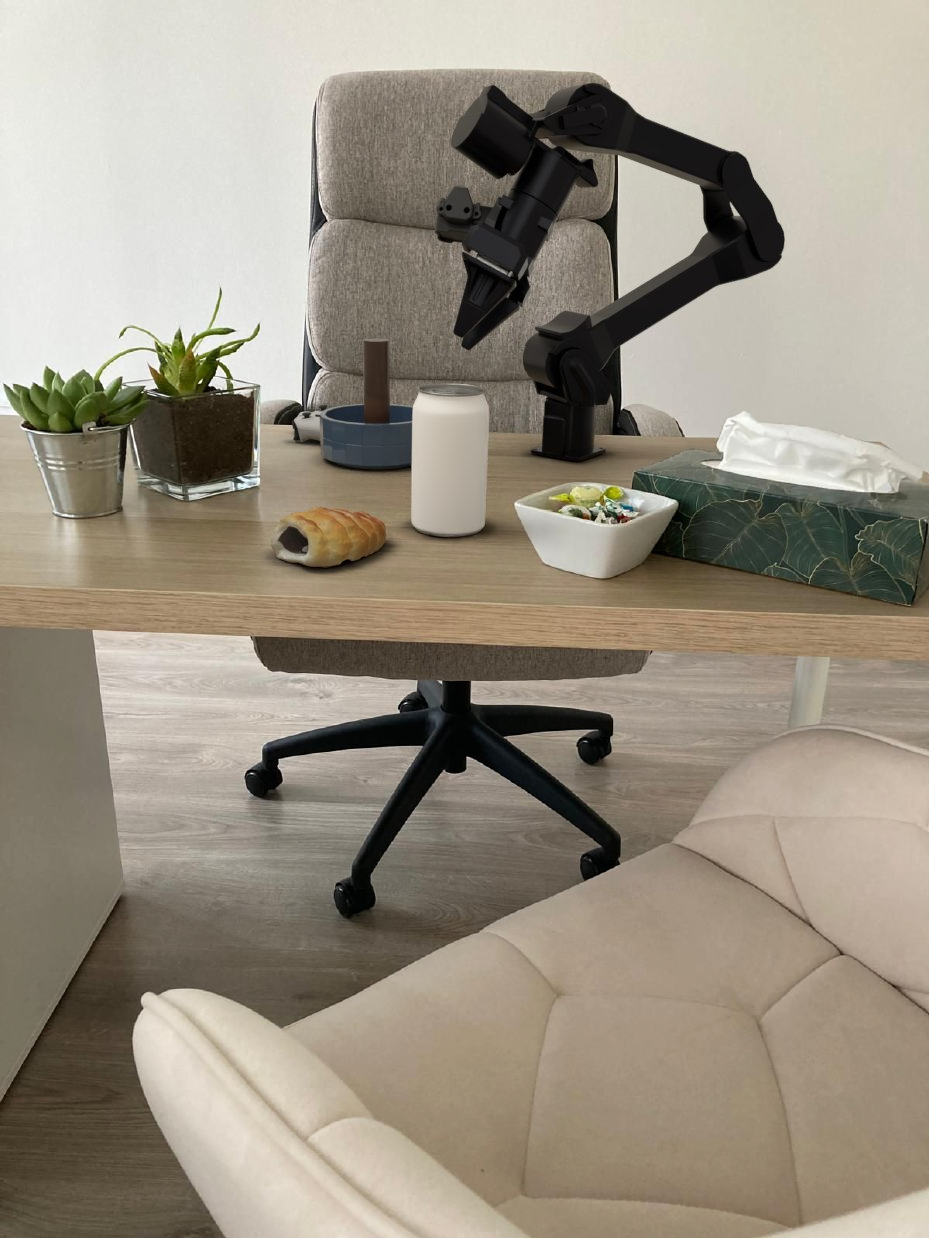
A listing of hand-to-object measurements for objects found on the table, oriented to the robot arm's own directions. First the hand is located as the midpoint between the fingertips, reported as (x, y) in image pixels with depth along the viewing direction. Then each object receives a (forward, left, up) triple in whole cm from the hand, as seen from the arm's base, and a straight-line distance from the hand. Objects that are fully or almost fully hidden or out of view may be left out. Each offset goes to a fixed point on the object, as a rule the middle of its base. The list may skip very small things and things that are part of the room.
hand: (461, 342), depth 108 cm
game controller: (+1, -20, -13) cm, 24 cm away
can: (+21, +14, -13) cm, 28 cm away
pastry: (+33, +11, -13) cm, 37 cm away
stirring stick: (+5, -8, -12) cm, 15 cm away
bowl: (+5, -8, -13) cm, 16 cm away
